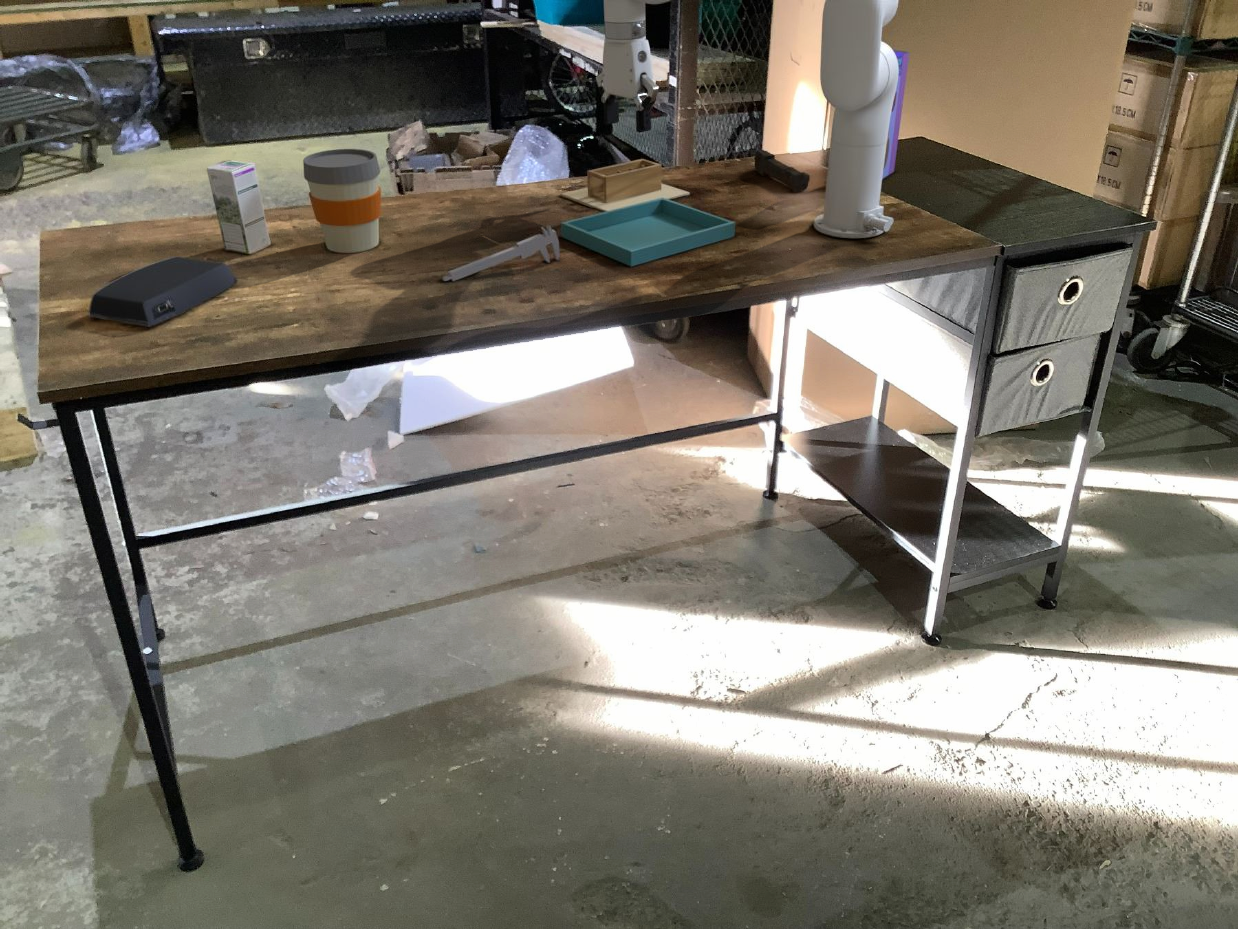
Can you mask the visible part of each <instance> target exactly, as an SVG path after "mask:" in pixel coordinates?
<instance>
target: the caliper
mask: <svg viewBox="0 0 1238 929" xmlns="http://www.w3.org/2000/svg"><path fill="white" fill-rule="evenodd" d="M540 228H541V232H542V234H541V233H539V234H535V235H533V236H531V237H527V238H525V239H523V240H520V241H518V242H516V243H515V245H514V246H512V247H509V248H506V249H504V250H501V251H499V252H496V253H493V254H491V255H487V256H485V257H482V258H480V259H477V260H475V261H472V262H470V263H467V264H464V265H462V266H458V267H456V268H454V269H450V270H449V271H448V274H446V275H444V276H442V278H441V280H442V281H443V282H447V281H452V282H455V281H458V280H460V279H463V278H465V277H468V276H471V275H473V274H476V273H478V272H481V271H483V270H486V269H489V268H491V267H493V266H497V265H499V264H502V263H504V262H507V261H510V260H512V259H515V258H518V257H519V258H521V259H522V260H525V259H526V258H528V257H532V256H533V255H535V254H536V252H539V254H540V256H541V257H542V258H543V260H544V261H545V262H547V263H551V260H550V254H549V251H548V249H547V246H548V245H550V248H551V251H552V254H553V258H554V259H555V260H556V261H558V260H560V253H561V252H560V241H559V238H558V237H559V236H558V235H557V232H556V230H555V229H552V226H551V225H550V224H547V225H546V229H545V228H544V227H543V226H541V227H540Z"/></svg>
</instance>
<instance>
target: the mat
mask: <svg viewBox="0 0 1238 929" xmlns="http://www.w3.org/2000/svg"><path fill="white" fill-rule="evenodd" d="M690 194H691V193H690V192H689V191H686V190H684V189H681V188H677V187H674V186H672V185H669V184H665V183H662V182H661V190H658V191H654V192H650V193H646V194H642V195H638V196H633V197H629V198H625V199H621V200H617V201H613V202H609V203H605V202H604V201H602V200H599V199H597V198H594V197H589V196H588V186H587V187H584V188H579V189H576V190H570V191H566V192H561V193H560V196H561V197H563V198H565V199H568V200H570V201H573V202H576V203H578V204H582V205H584V206H587V207H589V208H594V209H595V210H598V211H602V212H607V211H611V210H615V209H619V208H623V207H627V206H631V205H635V204H639V203H643V202H647V201H651V200H655V199H659V198H665V199H668V200H672V199H677V198H680V197H684V196H690Z"/></svg>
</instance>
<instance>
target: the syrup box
mask: <svg viewBox="0 0 1238 929" xmlns="http://www.w3.org/2000/svg"><path fill="white" fill-rule="evenodd" d="M206 172H207V176H208V181H209V186H210V189H211V195H212V199H213V203H214V208H215V212H216V216H217V221H218V226H219V230H220V233H221V238H222V243H223V247H224V251H229V252H234V253H240V254H246V255H251V254H254V253H257V252H259V251H261V250H263V249H265V248H268V247H270V246H271V245H272V244H271V238H270V235H269V234H270V233H269V228H268V224H267V220H266V213H265V209H264V205H263V199H262V195H261V189H260V184H259V179H258V174H257V169H256V165H255V163H254V162H249V161H248V162H247V161H240V160H239V161H238V160H232V159H226V160H222V161H220V162H217V163H214V164H212V165H210V166H207V167H206Z"/></svg>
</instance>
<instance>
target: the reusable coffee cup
mask: <svg viewBox="0 0 1238 929" xmlns="http://www.w3.org/2000/svg"><path fill="white" fill-rule="evenodd" d="M302 165H303V178H304V180H305V181H307V184H308V188H309V193H308V196H309V200H310V203H311V204H310V205H311V208H312V209H313V214H314V218H315V220H316V221H317V222H318V223H319V226H320V229H321V233H322V236H323V239H324V242H325V246H326V249H328V250H329V251H331V252H335V253H342V254H352V253H360V252H365V251H368V250H372V249H374V248H375V247H377V246H378V245H379V243H380V242H379V241H380V240H379V239H380V237H379V233H380V232H379V230H380V229H379V228H380V227H379V225H380V224H379V221H380V220H379V219H380V217H381V215H382V189H381V186H379V176H380V174H381V170H380V169H381V168H380V165H379V161H378V156H377V154H376V153H375V152H374V151H371V150H368V149H360V148H337V149H336V148H335V149H328V150H322V151H319V152H318V151H317V152H313V153H311V154H308V155H307V156H305V157H304V158H303V161H302Z"/></svg>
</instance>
